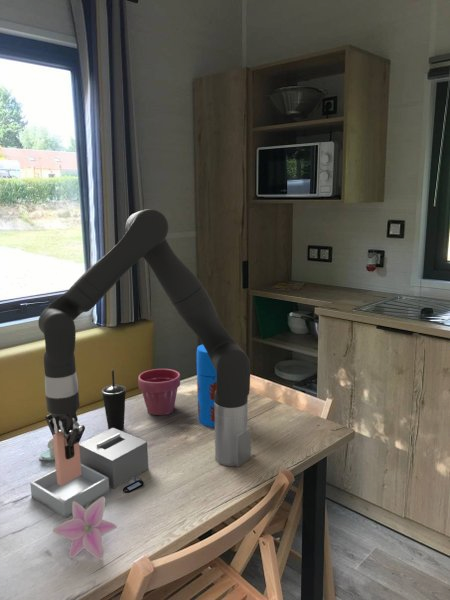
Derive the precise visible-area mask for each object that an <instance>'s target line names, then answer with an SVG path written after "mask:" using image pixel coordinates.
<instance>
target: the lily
mask: <svg viewBox="0 0 450 600" xmlns="http://www.w3.org/2000/svg"><path fill="white" fill-rule="evenodd" d="M105 504H106V498H105V496H102V497H100V498H98V499H97V500H95V501H93V502H92V503H91V504H90V505H89V506H88V507H87V508H85V507H82V506H81V505H80V504H78V503H77V502H75V501H73V503H72V513H73V514H72V519H68V520H66V521H64V522H62V523H60V524H58V525H56V526H55V527H54V528H53V529H52V532H53V533H54V535H57V536H59V537H61V538H64V539H67V540H71V543H70V547H69V559H73V558H74V557H76V556H77V555H78V554H79V553H80V552H81V551H83V550H84V549H85V550H86V551H87V552H88V553H89V554H91V556H93V557H94V558H96V559H98V560H104V559H103V558H104V547H103V543H104V542H103V537H102V536H104V535H106V534H108V533H111V532H113V531H114V530H116V529H117V528H118V525H116V524H115V523H113V522H112V521H111V522H110V521H108V520H105V519H103V518H104V511H105Z"/></svg>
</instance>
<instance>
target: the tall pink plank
mask: <svg viewBox="0 0 450 600" xmlns="http://www.w3.org/2000/svg"><path fill="white" fill-rule="evenodd" d="M70 437H71V436H69V437H68V440H69V439H70ZM52 439H53V443H54V454H55V459H54V463H55V465H54V466H55V470H56V475H57V484H59V485H61V486H62V485H64V484H65V483H67V482H69V481H71V480H73V479H75V478H76V477H78V476H80V475H81V462H80V450H79V444H80V442H78V443H76V444H74V453H75V454H74V457H72V458H70V459H66V456H65V445H64V437H62V435H61V432H58V433H56V434H54V435H53V436H52Z"/></svg>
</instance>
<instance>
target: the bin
mask: <svg viewBox="0 0 450 600" xmlns="http://www.w3.org/2000/svg"><path fill="white" fill-rule="evenodd" d="M29 484H30V494H31V498H33V499H34V500H36V501H37V502H38V503H39V502H40V503H41V504H43V505H44V506H45V507H47V508H48V509H50V510H51V511H54V512H55V513H56V514H57V515H59V516H61V517H63V518H64V519H67V518H69V517H70V516H73V513H72V503H73V501H75V502H77V503H78V504H80V505H81V506H82V507H83V508H86V507H87V506H88V505H91V504H93V503H94V502H95V501H97V500H98V499H99V498H101V497H104V496H105V495H107V494H108V493H110V487H109V478H108V477H106V476H104V475H102V474H100V473H99V472H97V471H95V470H93V469H91V468H89V467H87V466H85V465H83V464H81V475H80V476H78V477H76V478H75V479H73V480H71V481H69V482H67V483H65V484H64V485H62V486H61V485H59V484H57V475H56V469H55V470H52V471H51V472H48V473H46V474H44V475H42V476H40V477H38V478H36V479H34V480H32V481H30V483H29Z"/></svg>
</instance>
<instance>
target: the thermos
mask: <svg viewBox="0 0 450 600" xmlns="http://www.w3.org/2000/svg"><path fill="white" fill-rule="evenodd" d="M196 381H197V382H196V385H197V393H196V394H197V413H198V422H199V424H201V425H203V426H205V427H209V428H215V408H214V393H215V391H216V388H217V375H216V370H215V368H214V366H213V364H212V362H211V359H210V357H209V355H208V353H207V351H206V349H205V347H204V345H203V344H200V345H198V346H197V348H196Z"/></svg>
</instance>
